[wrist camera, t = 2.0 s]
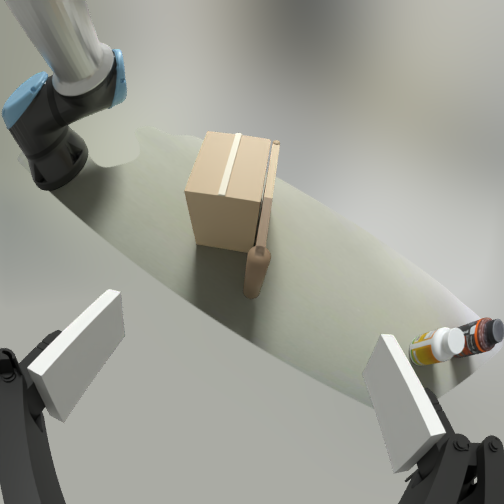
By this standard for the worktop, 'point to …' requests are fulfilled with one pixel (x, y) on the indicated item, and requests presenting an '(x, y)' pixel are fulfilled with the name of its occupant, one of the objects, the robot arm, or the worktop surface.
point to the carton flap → (261, 235)
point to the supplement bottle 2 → (481, 336)
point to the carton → (227, 190)
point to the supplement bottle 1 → (436, 346)
